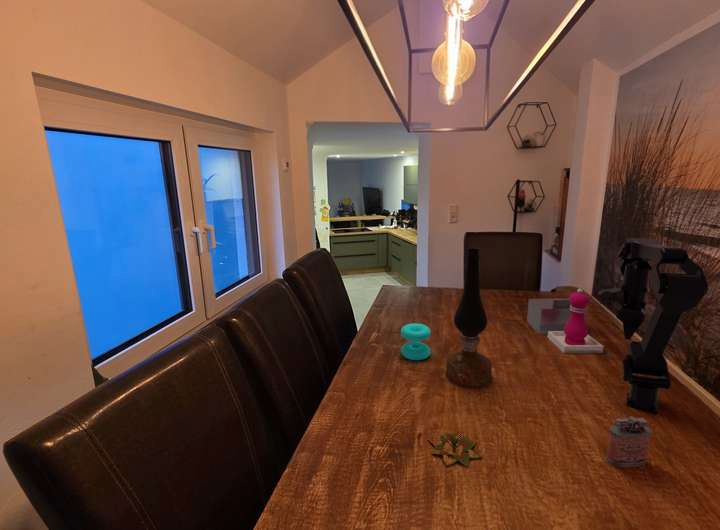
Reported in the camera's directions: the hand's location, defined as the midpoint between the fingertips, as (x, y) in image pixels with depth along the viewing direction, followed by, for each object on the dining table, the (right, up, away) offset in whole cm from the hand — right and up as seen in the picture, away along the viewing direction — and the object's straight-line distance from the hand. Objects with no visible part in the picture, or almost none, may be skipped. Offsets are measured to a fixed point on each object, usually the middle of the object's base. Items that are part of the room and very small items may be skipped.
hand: (628, 333), depth 108 cm
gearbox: (-2, -5, +38) cm, 38 cm away
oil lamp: (-45, -14, +5) cm, 48 cm away
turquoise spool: (-59, -11, +19) cm, 63 cm away
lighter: (-22, -21, -30) cm, 43 cm away
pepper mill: (-3, -8, +22) cm, 23 cm away
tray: (-3, -8, +23) cm, 24 cm away
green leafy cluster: (-57, -22, -25) cm, 66 cm away
